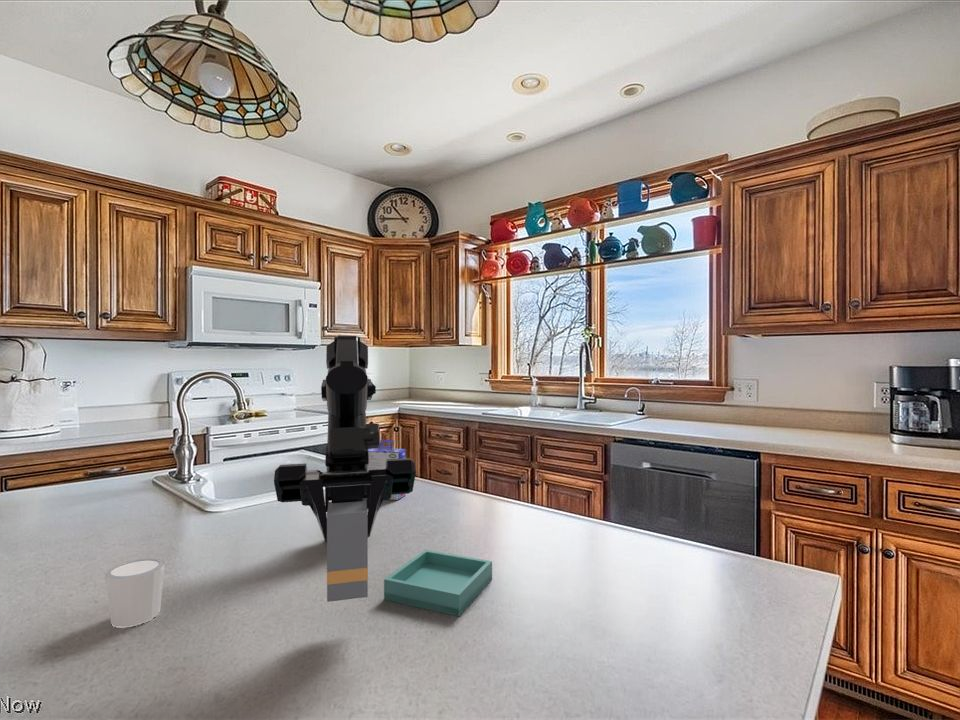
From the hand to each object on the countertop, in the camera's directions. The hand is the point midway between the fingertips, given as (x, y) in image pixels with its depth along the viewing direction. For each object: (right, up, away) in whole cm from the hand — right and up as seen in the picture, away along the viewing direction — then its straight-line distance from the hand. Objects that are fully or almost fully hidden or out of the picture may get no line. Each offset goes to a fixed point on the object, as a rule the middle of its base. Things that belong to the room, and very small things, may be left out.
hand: (347, 536), depth 65 cm
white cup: (-31, -13, +5) cm, 34 cm away
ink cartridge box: (-7, -13, +64) cm, 66 cm away
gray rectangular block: (0, -8, +1) cm, 8 cm away
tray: (+11, -13, +13) cm, 21 cm away
